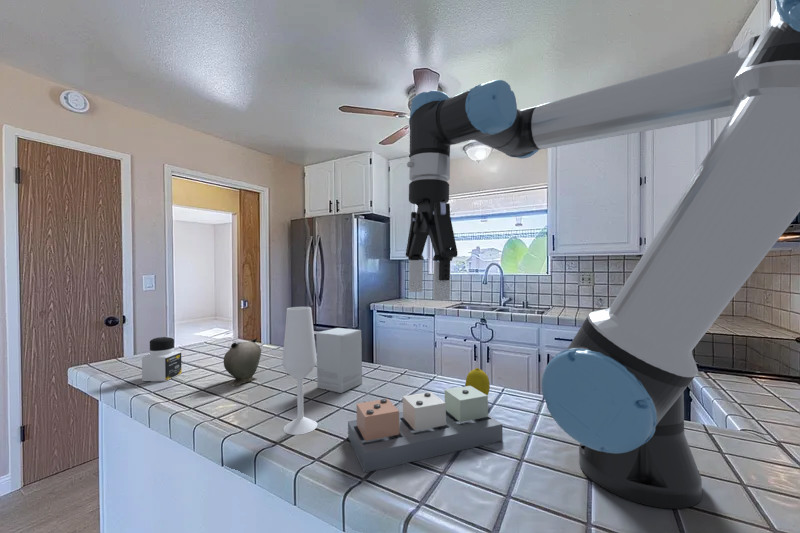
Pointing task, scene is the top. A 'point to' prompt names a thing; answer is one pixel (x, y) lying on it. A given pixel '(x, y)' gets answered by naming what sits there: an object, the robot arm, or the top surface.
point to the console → (422, 441)
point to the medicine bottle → (161, 360)
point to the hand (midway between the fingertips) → (427, 295)
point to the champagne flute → (299, 361)
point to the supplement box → (339, 359)
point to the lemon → (478, 380)
